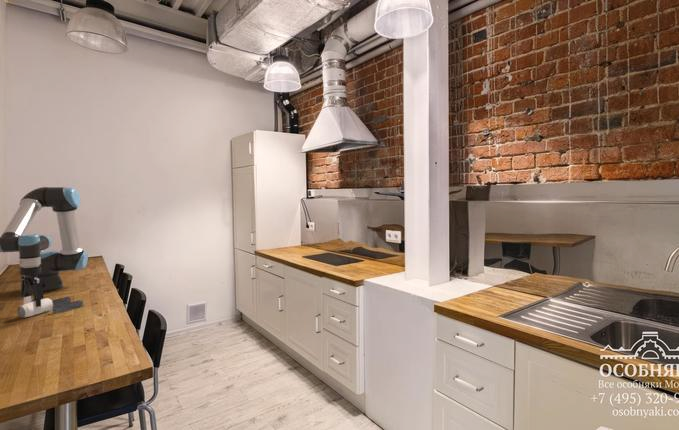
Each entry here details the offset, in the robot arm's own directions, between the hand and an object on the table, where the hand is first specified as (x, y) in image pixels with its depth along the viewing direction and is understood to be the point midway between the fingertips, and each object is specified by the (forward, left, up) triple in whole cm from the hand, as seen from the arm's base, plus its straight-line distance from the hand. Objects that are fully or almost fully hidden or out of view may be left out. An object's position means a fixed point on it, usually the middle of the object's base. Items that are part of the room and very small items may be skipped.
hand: (32, 311), depth 164 cm
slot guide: (0, +12, -2) cm, 12 cm away
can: (-1, +7, +1) cm, 8 cm away
